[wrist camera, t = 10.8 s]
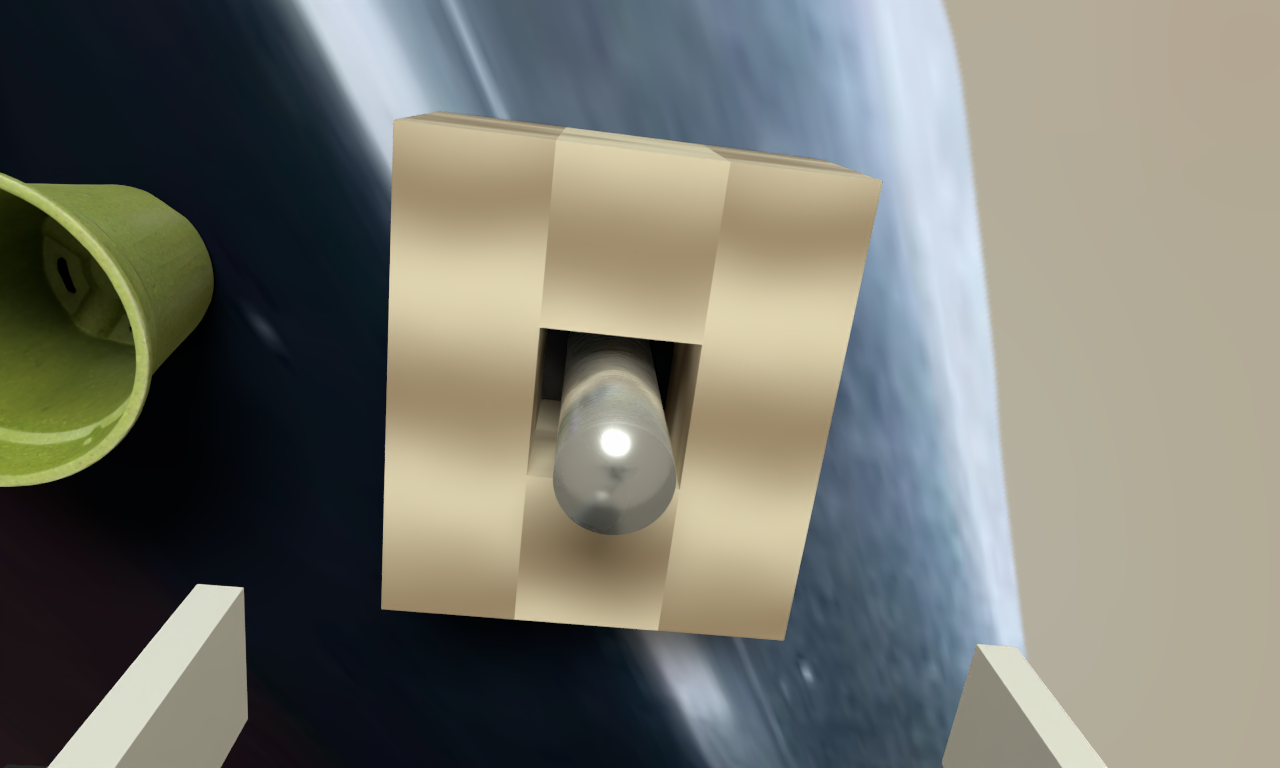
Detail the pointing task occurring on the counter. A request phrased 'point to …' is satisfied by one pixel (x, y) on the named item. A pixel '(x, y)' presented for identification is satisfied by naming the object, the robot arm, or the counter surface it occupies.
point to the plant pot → (87, 318)
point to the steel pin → (612, 436)
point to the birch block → (622, 306)
